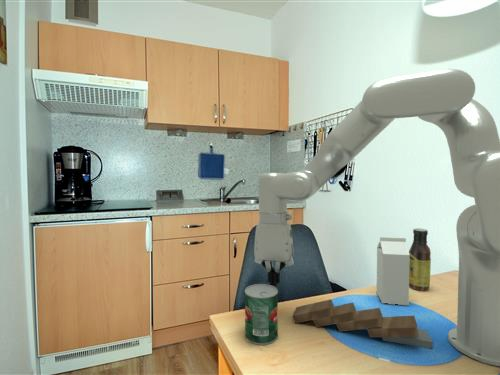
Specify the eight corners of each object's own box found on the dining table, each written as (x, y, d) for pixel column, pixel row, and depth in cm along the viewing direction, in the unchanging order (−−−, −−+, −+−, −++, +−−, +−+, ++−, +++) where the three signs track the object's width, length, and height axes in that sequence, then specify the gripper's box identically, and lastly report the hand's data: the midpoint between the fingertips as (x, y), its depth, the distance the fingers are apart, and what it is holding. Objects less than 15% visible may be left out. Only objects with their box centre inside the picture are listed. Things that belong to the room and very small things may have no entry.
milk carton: (408, 306, 80) (410, 241, 79) (382, 304, 82) (383, 240, 81) (400, 295, 87) (401, 235, 86) (376, 293, 88) (377, 234, 88)
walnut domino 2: (318, 317, 74) (356, 310, 71) (316, 327, 70) (355, 319, 66) (316, 310, 74) (353, 302, 71) (313, 319, 70) (352, 311, 66)
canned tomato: (240, 329, 69) (240, 286, 68) (269, 323, 71) (269, 281, 71) (252, 348, 61) (251, 300, 61) (283, 340, 64) (283, 294, 63)
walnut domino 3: (342, 321, 72) (382, 315, 67) (339, 331, 67) (381, 326, 63) (339, 313, 72) (379, 307, 67) (335, 323, 68) (377, 318, 63)
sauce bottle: (408, 282, 97) (409, 226, 96) (429, 286, 94) (431, 228, 93) (407, 289, 91) (409, 229, 90) (430, 293, 88) (431, 231, 87)
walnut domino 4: (371, 325, 69) (416, 323, 64) (369, 337, 64) (418, 336, 59) (368, 317, 69) (414, 315, 64) (367, 328, 64) (415, 327, 60)
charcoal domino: (379, 330, 69) (425, 337, 66) (382, 342, 64) (432, 350, 61) (379, 323, 69) (425, 329, 66) (382, 334, 64) (432, 341, 61)
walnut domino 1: (298, 314, 76) (334, 306, 72) (295, 323, 71) (332, 315, 68) (296, 307, 76) (331, 299, 73) (292, 315, 72) (329, 307, 68)
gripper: (302, 217, 76) (303, 282, 77) (250, 215, 81) (252, 277, 82) (298, 221, 69) (299, 294, 70) (242, 219, 74) (243, 287, 75)
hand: (274, 285), depth 76 cm, fingers closed
